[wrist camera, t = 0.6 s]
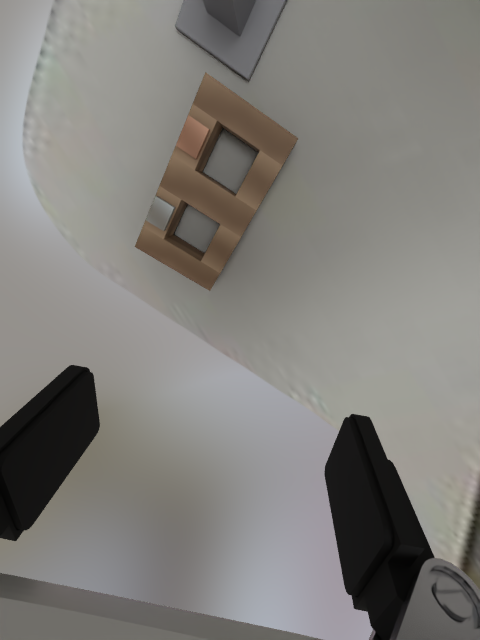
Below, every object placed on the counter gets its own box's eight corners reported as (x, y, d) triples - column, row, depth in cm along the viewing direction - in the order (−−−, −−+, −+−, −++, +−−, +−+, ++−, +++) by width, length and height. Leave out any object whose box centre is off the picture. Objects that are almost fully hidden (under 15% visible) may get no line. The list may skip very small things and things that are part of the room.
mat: (216, -86, 23) (215, -92, 23) (296, -21, 24) (297, -26, 24) (176, 29, 27) (175, 26, 26) (248, 81, 28) (248, 79, 27)
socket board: (212, 85, 28) (203, 69, 24) (295, 143, 29) (298, 137, 26) (146, 241, 36) (132, 247, 32) (215, 281, 37) (208, 292, 33)
